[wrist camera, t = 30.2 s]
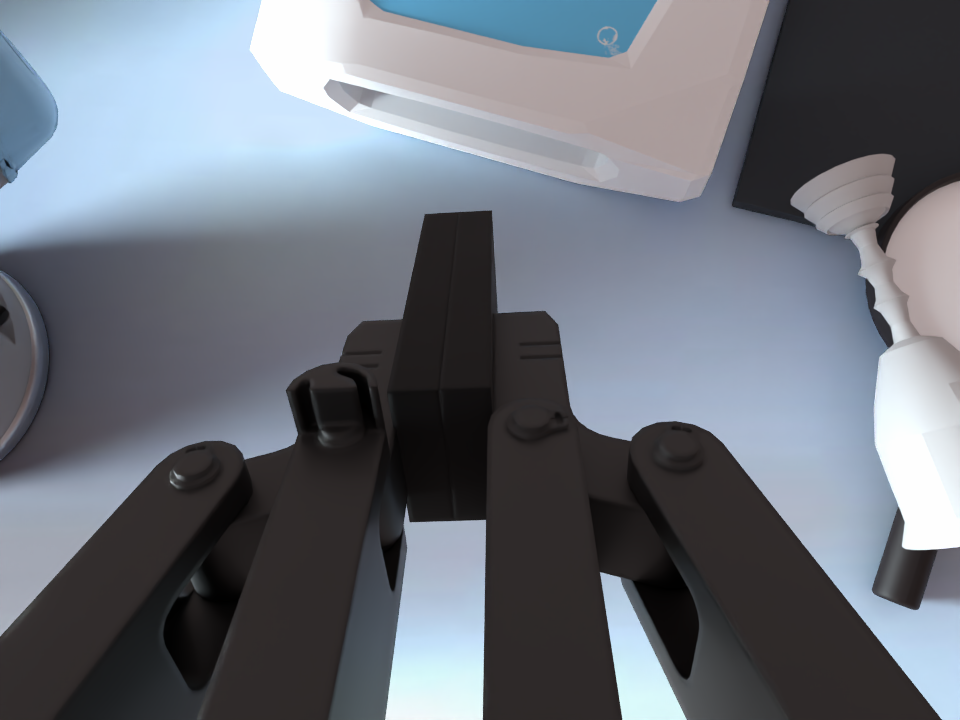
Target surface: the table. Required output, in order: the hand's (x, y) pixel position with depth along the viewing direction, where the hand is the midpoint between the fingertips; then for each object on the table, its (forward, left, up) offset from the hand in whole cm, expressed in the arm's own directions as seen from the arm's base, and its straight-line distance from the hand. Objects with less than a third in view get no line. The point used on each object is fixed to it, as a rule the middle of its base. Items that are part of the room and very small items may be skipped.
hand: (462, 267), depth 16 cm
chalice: (+13, +15, -20) cm, 28 cm away
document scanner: (-7, +24, -25) cm, 36 cm away
